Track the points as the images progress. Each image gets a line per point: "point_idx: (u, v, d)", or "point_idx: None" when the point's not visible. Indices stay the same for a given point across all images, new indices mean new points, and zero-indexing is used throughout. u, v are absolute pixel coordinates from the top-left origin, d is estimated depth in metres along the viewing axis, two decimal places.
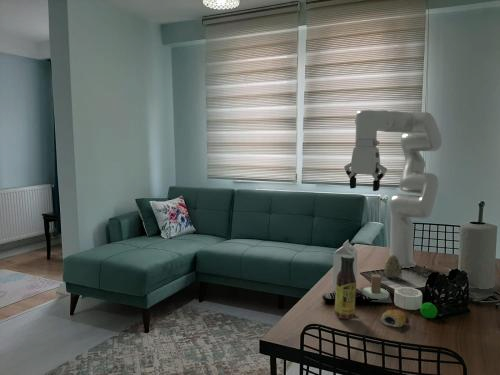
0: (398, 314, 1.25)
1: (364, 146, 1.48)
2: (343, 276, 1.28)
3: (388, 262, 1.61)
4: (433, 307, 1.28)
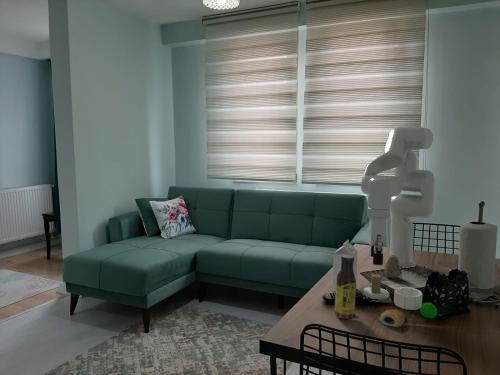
0: (397, 314, 1.25)
1: None
2: (343, 276, 1.28)
3: (388, 262, 1.61)
4: (433, 307, 1.28)
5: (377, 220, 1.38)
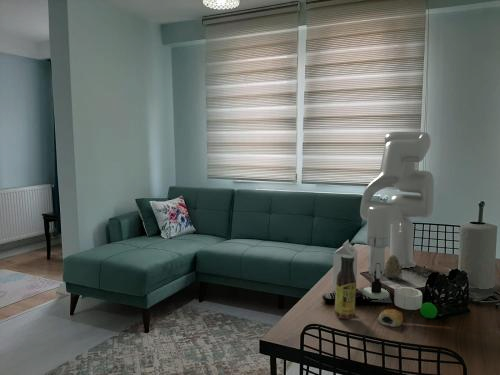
0: (395, 314, 1.26)
1: None
2: (343, 276, 1.28)
3: (388, 262, 1.61)
4: (433, 307, 1.28)
5: (376, 249, 1.40)
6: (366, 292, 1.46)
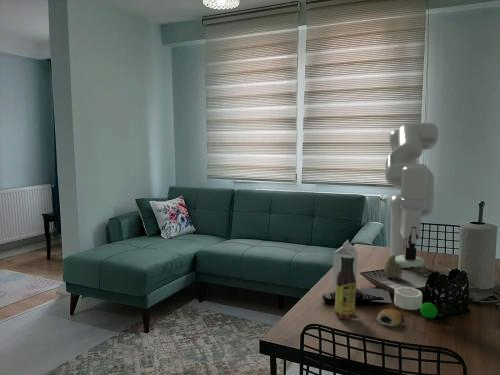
0: (394, 313, 1.26)
1: None
2: (343, 276, 1.28)
3: (388, 262, 1.61)
4: (433, 307, 1.28)
5: (411, 211, 1.30)
6: (399, 259, 1.36)
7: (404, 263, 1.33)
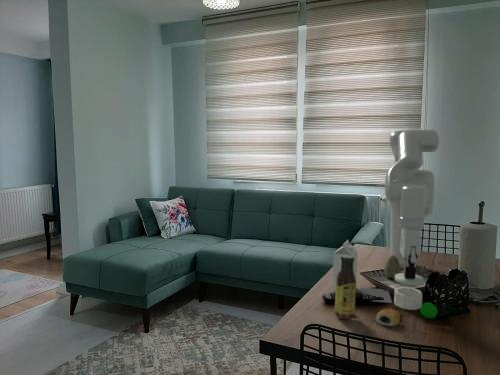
0: (393, 313, 1.26)
1: None
2: (343, 276, 1.28)
3: (388, 262, 1.61)
4: (433, 307, 1.28)
5: (411, 231, 1.31)
6: (399, 278, 1.36)
7: (404, 282, 1.34)
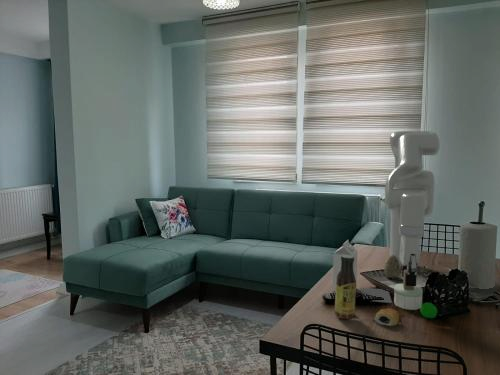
0: (392, 313, 1.26)
1: None
2: (343, 276, 1.28)
3: (388, 262, 1.61)
4: (433, 307, 1.28)
5: (410, 239, 1.31)
6: (398, 289, 1.37)
7: (403, 293, 1.34)
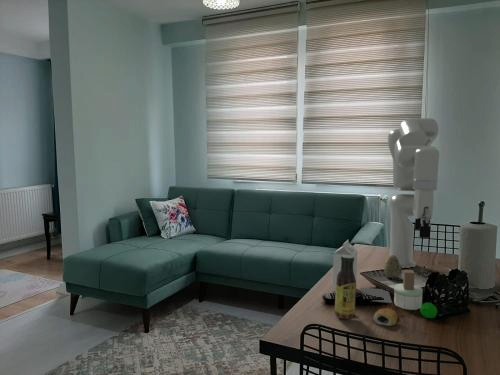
0: (390, 313, 1.26)
1: None
2: (343, 276, 1.28)
3: (388, 262, 1.61)
4: (433, 307, 1.28)
5: (424, 192, 1.34)
6: (398, 289, 1.37)
7: (403, 293, 1.34)
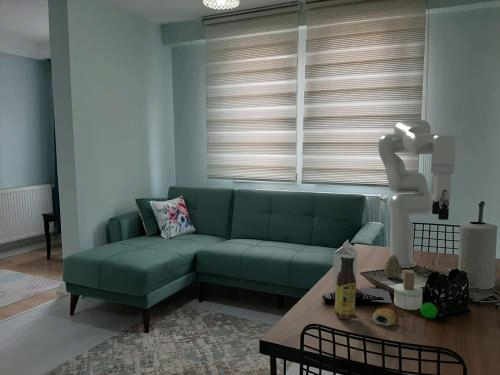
0: (389, 312, 1.26)
1: None
2: (343, 276, 1.28)
3: (388, 262, 1.61)
4: (433, 307, 1.28)
5: (442, 176, 1.40)
6: (398, 289, 1.37)
7: (403, 293, 1.34)
